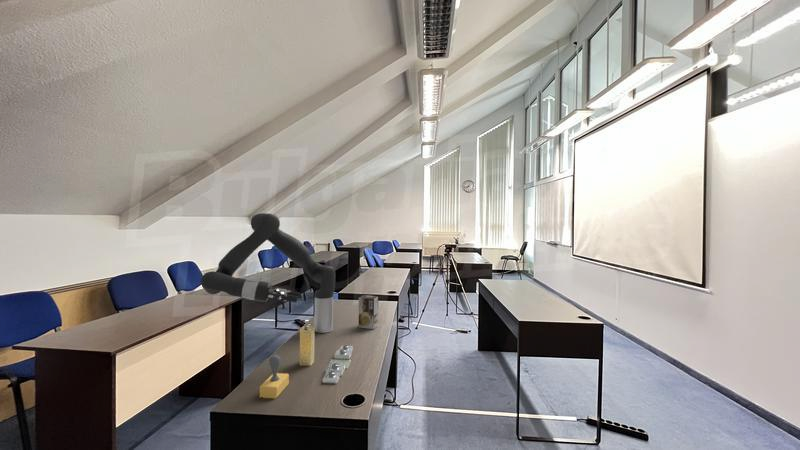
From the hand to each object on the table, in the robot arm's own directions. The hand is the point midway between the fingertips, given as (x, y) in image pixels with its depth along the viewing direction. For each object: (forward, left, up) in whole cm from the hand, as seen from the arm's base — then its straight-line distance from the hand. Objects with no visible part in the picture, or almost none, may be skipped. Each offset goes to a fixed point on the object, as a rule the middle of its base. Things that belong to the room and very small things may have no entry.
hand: (298, 297), depth 138 cm
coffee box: (-47, +22, -26) cm, 58 cm away
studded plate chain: (+1, +17, -26) cm, 31 cm away
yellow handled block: (+23, 0, -26) cm, 35 cm away
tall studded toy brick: (+1, +4, -26) cm, 26 cm away
